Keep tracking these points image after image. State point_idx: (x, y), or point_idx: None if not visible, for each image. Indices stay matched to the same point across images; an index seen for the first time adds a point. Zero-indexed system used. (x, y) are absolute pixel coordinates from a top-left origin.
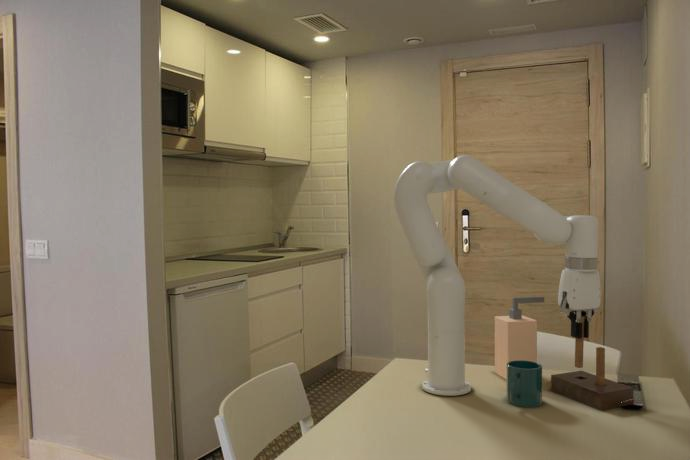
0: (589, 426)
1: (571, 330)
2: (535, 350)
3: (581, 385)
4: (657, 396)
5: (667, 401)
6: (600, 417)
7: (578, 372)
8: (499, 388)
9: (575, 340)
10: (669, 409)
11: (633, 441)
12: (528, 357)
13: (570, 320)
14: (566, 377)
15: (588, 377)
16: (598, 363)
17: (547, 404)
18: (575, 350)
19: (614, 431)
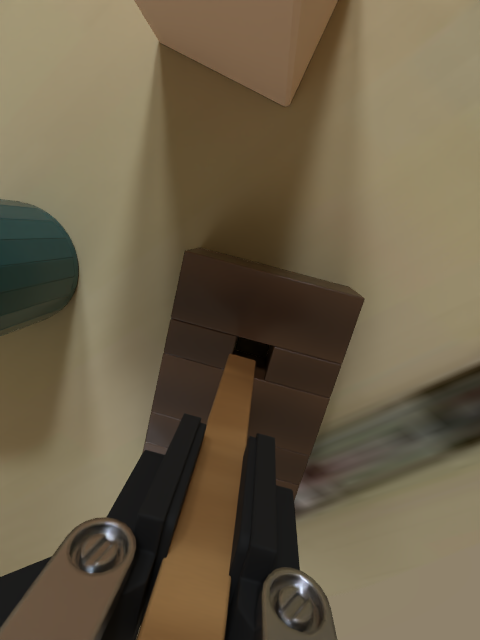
0: (26, 489)
1: (137, 466)
2: (282, 32)
3: (158, 410)
4: (424, 508)
5: (393, 542)
6: (104, 478)
7: (321, 307)
8: (52, 96)
9: (207, 424)
10: (320, 566)
11: None
12: (237, 32)
13: (79, 542)
14: (205, 317)
15: (279, 375)
16: None
17: (65, 329)
18: (217, 392)
19: (51, 537)
